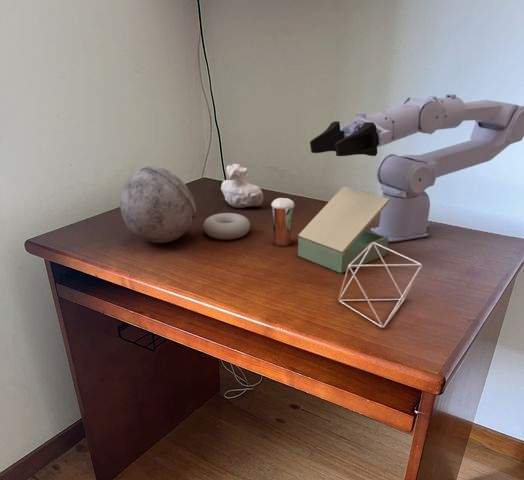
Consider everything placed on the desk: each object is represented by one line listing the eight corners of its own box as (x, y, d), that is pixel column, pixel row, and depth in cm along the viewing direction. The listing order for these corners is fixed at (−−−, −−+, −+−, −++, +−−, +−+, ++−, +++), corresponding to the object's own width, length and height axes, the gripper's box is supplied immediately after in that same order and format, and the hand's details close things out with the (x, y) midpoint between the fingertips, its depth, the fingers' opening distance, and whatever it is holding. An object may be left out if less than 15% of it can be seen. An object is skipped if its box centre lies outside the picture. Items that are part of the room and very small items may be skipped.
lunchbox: (343, 239, 114) (344, 222, 112) (386, 254, 106) (388, 237, 104) (297, 255, 106) (298, 238, 104) (341, 273, 99) (342, 254, 97)
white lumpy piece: (221, 210, 137) (201, 180, 128) (235, 186, 139) (216, 155, 129) (260, 219, 131) (241, 189, 122) (274, 194, 133) (257, 162, 123)
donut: (197, 240, 114) (244, 243, 112) (196, 224, 112) (243, 226, 110) (211, 225, 122) (254, 227, 120) (210, 209, 120) (254, 211, 118)
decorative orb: (211, 239, 114) (207, 165, 106) (156, 260, 105) (147, 180, 97) (165, 224, 122) (158, 154, 114) (111, 241, 113) (99, 167, 105)
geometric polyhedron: (382, 288, 94) (387, 237, 89) (428, 313, 86) (437, 259, 81) (323, 306, 88) (325, 253, 84) (367, 334, 80) (372, 277, 76)
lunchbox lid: (343, 188, 107) (343, 186, 107) (390, 201, 100) (389, 198, 100) (298, 237, 104) (297, 235, 104) (343, 254, 97) (342, 251, 97)
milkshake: (290, 249, 109) (291, 199, 104) (267, 244, 111) (267, 195, 106) (300, 242, 112) (302, 193, 107) (278, 237, 115) (279, 189, 109)
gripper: (356, 105, 105) (297, 123, 101) (409, 105, 94) (345, 126, 89) (360, 143, 109) (304, 162, 104) (411, 147, 97) (351, 169, 93)
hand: (323, 148), depth 97 cm, fingers open, 7 cm apart
